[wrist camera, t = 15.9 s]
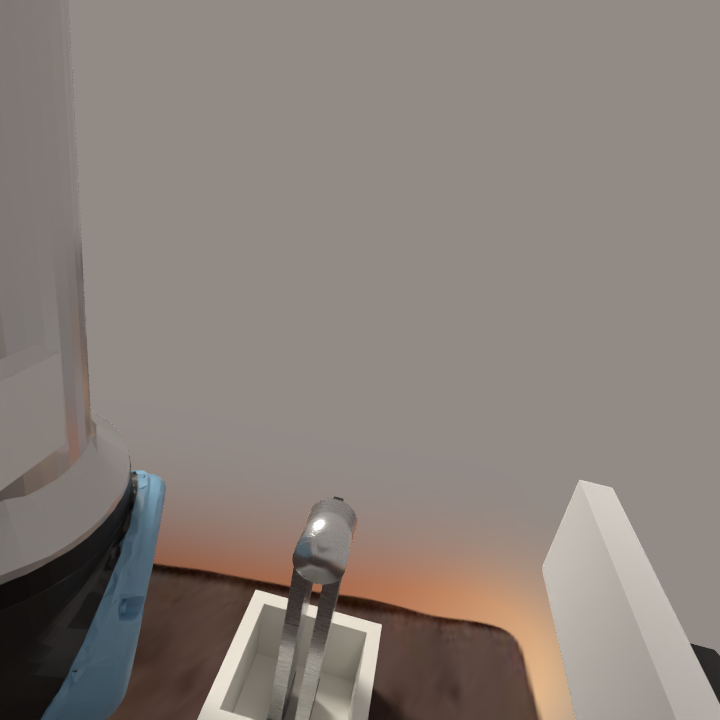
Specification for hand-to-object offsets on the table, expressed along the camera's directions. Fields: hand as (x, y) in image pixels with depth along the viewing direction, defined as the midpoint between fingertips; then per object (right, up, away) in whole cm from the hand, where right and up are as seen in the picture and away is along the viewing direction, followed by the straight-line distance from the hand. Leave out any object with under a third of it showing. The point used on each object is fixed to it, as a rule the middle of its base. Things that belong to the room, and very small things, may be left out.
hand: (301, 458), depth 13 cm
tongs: (-4, -23, +24) cm, 33 cm away
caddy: (-4, -24, +24) cm, 34 cm away
